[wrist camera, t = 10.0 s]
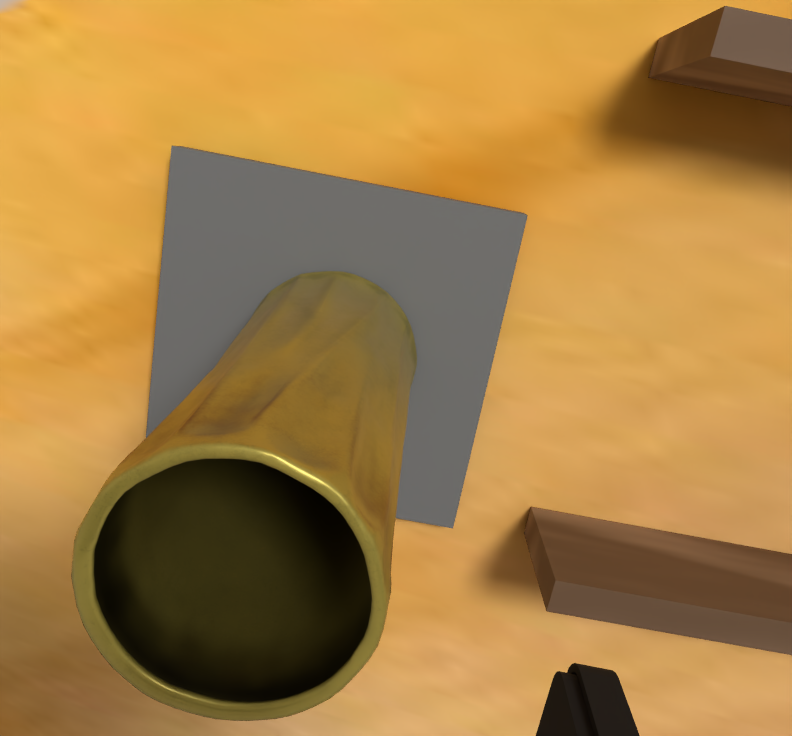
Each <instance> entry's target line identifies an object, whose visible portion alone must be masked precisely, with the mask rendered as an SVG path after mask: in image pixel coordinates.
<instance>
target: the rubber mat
mask: <svg viewBox="0 0 792 736" xmlns="http://www.w3.org/2000/svg"><path fill="white" fill-rule="evenodd" d="M526 220H527V215H526V214H524V213H521V212H516V211H511V210H506V209H500V208H495V207H490V206H485V205H480V204H475V203H470V202H465V201H459V200H454V199H449V198H444V197H439V196H434V195H429V194H423V193H418V192H413V191H408V190H403V189H398V188H393V187H388V186H382V185H377V184H372V183H367V182H362V181H357V180H352V179H347V178H341V177H336V176H331V175H326V174H321V173H316V172H311V171H306V170H300V169H295V168H290V167H285V166H280V165H275V164H270V163H264V162H259V161H254V160H249V159H244V158H239V157H234V156H229V155H223V154H218V153H213V152H208V151H203V150H198V149H193V148H188V147H182V146H172V148H171V159H170V171H169V182H168V193H167V205H166V216H165V227H164V239H163V250H162V261H161V273H160V284H159V295H158V307H157V318H156V329H155V341H154V352H153V363H152V375H151V386H150V397H149V409H148V420H147V431H146V438H147V437H148V436H149V435H150V434H151V433H152V432H153V430H154V429H155V428H156V427H157V426H158V425H159V424H160V423H161V422H162V421H163V420H164V419H165V418H166V417H167V416H168V415H169V414H170V413H171V412H172V411H173V410H174V409H175V408H176V407H177V406H178V405H179V404H180V403H181V402H182V401H183V400H184V399H185V398H186V397H187V396H188V395H189V394H190V393H191V391H192V390H193V389H194V388H195V387H196V386H197V385H198V384H199V383H200V382H201V381H202V380H203V379H204V377H205V376H206V375H207V374H208V373H209V372H210V371H212V370H213V369H214V367H215V366H216V365H217V363H218V362H219V360H220V359H221V357H222V356H223V355H224V353H225V352H226V350H227V349H228V348H229V346H230V345H231V343H232V342H233V341H234V339H235V338H236V337H237V336H238V334H239V333H240V332H241V330H242V329H243V328H244V327H245V325H246V324H247V323H248V322H249V320H250V319H251V317H252V315H253V314H254V312H255V310H256V309H257V307H258V306H259V304H260V303H261V301H262V300H263V299H264V298H265V297H266V295H267V294H268V293H269V292H270V291H271V290H273V289H274V288H276V287H277V286H279V285H280V284H282V283H284V282H286V281H287V280H289V279H291V278H293V277H295V276H298V275H300V274H304V273H311V272H324V271H342V272H347V273H351V274H355V275H357V276H360V277H362V278H365V279H367V280H369V281H371V282H372V283H374V284H376V285H378V286H379V287H381V288H382V289H384V290H385V291H386V292H387V293H388V294H389V295H390V296H391V297H392V298H393V299H394V300H395V301H396V302H397V304H398V305H399V306H400V307H401V309H402V310H403V312H404V313H405V315H406V317H407V318H408V321H409V323H410V325H411V328H412V332H413V335H414V340H415V345H416V353H417V367H416V371H415V375H414V378H413V382H412V385H411V388H410V395H409V404H408V415H407V424H406V432H405V438H404V445H403V456H402V465H401V473H400V481H399V490H398V501H397V511H396V518H399V519H404V520H410V521H415V522H421V523H426V524H432V525H437V526H443V527H448V528H453V526H454V521H455V517H456V513H457V509H458V505H459V500H460V496H461V492H462V488H463V484H464V479H465V475H466V471H467V467H468V463H469V459H470V454H471V450H472V446H473V442H474V438H475V433H476V429H477V425H478V421H479V417H480V412H481V408H482V404H483V400H484V396H485V391H486V387H487V383H488V379H489V375H490V370H491V366H492V362H493V358H494V354H495V350H496V345H497V341H498V337H499V333H500V329H501V324H502V320H503V316H504V312H505V308H506V303H507V299H508V295H509V291H510V287H511V282H512V278H513V274H514V270H515V266H516V261H517V257H518V253H519V249H520V245H521V241H522V236H523V232H524V228H525V224H526Z"/></svg>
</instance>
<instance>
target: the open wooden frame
mask: <svg viewBox="0 0 792 736" xmlns="http://www.w3.org/2000/svg"><path fill="white" fill-rule="evenodd" d="M648 78H653V79H658V80H663V81H668V82H673V83H678V84H683V85H688V86H693V87H698V88H703V89H708V90H713V91H718V92H722V93H727V94H732V95H737V96H742V97H747V98H752V99H757V100H762V101H767V102H772V103H777V104H782V105H787V106H792V20H791V19H787V18H782V17H777V16H772V15H767V14H762V13H757V12H752V11H748V10H743V9H738V8H733V7H728V6H724V7H722V8H720V9H718V10H716V11H714V12H712V13H710V14H708V15H706V16H703V17H701V18H699V19H697V20H695V21H693V22H691V23H689V24H687V25H685V26H683V27H681V28H679V29H677V30H675V31H673V32H671V33H669V34H667V35H665V36H663V37H661V38H659V41H658V44H657V48H656V52H655V55H654V59H653V63H652V66H651V70H650V74H649V77H648ZM524 535H525V538H526V542H527V545H528V549H529V552H530V556H531V559H532V563H533V566H534V570H535V573H536V576H537V580H538V583H539V587H540V590H541V594H542V597H543V601H544V604H545V607H546V611H548V612H554V613H559V614H565V615H570V616H576V617H582V618H587V619H593V620H598V621H604V622H610V623H615V624H621V625H626V626H632V627H638V628H643V629H649V630H654V631H660V632H666V633H671V634H677V635H682V636H688V637H694V638H699V639H705V640H710V641H716V642H722V643H727V644H733V645H738V646H744V647H750V648H755V649H761V650H766V651H772V652H778V653H783V654H789V655H792V554H787V553H781V552H776V551H770V550H765V549H759V548H754V547H748V546H743V545H737V544H732V543H727V542H721V541H716V540H710V539H705V538H699V537H694V536H688V535H683V534H677V533H672V532H666V531H661V530H655V529H650V528H644V527H639V526H633V525H628V524H623V523H617V522H612V521H606V520H601V519H595V518H590V517H584V516H579V515H573V514H568V513H562V512H557V511H551V510H546V509H540V508H535V507H531V509H530V513H529V517H528V520H527V524H526V528H525V531H524Z"/></svg>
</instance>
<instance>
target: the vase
mask: <svg viewBox="0 0 792 736" xmlns="http://www.w3.org/2000/svg"><path fill="white" fill-rule="evenodd" d="M416 367H417V353H416V345H415V340H414V335H413V332H412V328H411V325H410V323H409V321H408V318H407V317H406V315H405V313H404V312H403V310H402V309H401V307H400V306H399V305H398V304H397V302H396V301H395V300H394V299H393V298H392V297H391V296H390V295H389V294H388V293H387V292H386V291H385V290H384V289H382V288H381V287H379V286H378V285H376V284H374V283H372V282H371V281H369V280H367V279H365V278H362V277H360V276H357V275H355V274H351V273H347V272H342V271H324V272H311V273H304V274H300V275H298V276H295V277H293V278H291V279H289V280H287V281H286V282H284V283H282V284H280V285H279V286H277V287H276V288H274V289H273V290H271V291H270V292H269V293H268V294H267V295H266V297H265V298H264V299H263V300H262V301H261V303H260V304H259V306H258V307H257V309H256V310H255V312H254V314H253V315H252V317H251V319H250V320H249V322H248V323H247V324H246V325H245V327H244V328H243V329H242V330H241V332H240V333H239V334H238V336H237V337H236V338H235V339H234V341H233V342H232V343H231V345H230V346H229V348H228V349H227V350H226V352H225V353H224V355H223V356H222V357H221V359H220V360H219V362H218V363H217V365H216V366H215V367H214V369H213V370H212V371H210V372H209V373H208V374H207V375H206V376H205V377H204V379H203V380H202V381H201V382H200V383H199V384H198V385H197V386H196V387H195V388H194V389H193V390H192V391H191V393H190V394H189V395H188V396H187V397H186V398H185V399H184V400H183V401H182V402H181V403H180V404H179V405H178V406H177V407H176V408H175V409H174V410H173V411H172V412H171V413H170V414H169V415H168V416H167V417H166V418H165V419H164V420H163V421H162V422H161V423H160V424H159V425H158V426H157V427H156V428H155V429H154V430H153V432H152V433H151V434H150V435H149V436H148V437H147V438H146V439H145V440H144V441H143V442H142V443H141V444H140V445H139V446H138V447H137V448H136V449H135V450H134V451H132V452H131V453H130V454H129V455H128V456H127V457H126V458H125V459H124V460H123V461H122V462H121V463H120V464H119V466H118V467H117V468H116V469H115V470H114V471H113V473H112V474H111V475H110V476H109V478H108V479H107V480H106V482H105V483H104V485H103V487H102V488H101V490H100V492H99V494H98V495H97V497H96V499H95V501H94V502H93V504H92V506H91V507H90V509H89V511H88V512H87V514H86V516H85V518H84V519H83V521H82V523H81V525H80V526H79V528H78V531H77V533H76V536H75V540H74V549H73V561H72V573H71V578H72V583H73V589H74V594H75V599H76V605H77V608H78V611H79V614H80V617H81V619H82V622H83V625H84V627H85V629H86V630H87V632H88V634H89V636H90V638H91V640H92V641H93V643H94V644H95V646H96V647H97V648H98V650H99V651H100V653H101V654H102V655H103V657H104V658H105V659H106V660H107V662H108V663H109V664H110V665H111V666H112V668H114V669H115V670H116V671H117V672H118V673H119V674H120V675H121V676H122V677H124V678H125V679H126V680H127V681H128V682H129V683H131V684H132V685H133V686H134V687H135V688H137V689H138V690H140V691H141V692H142V693H144V694H145V695H147V696H149V697H151V698H153V699H155V700H157V701H159V702H161V703H163V704H166V705H168V706H171V707H174V708H176V709H180V710H183V711H186V712H189V713H192V714H196V715H200V716H204V717H209V718H214V719H222V720H233V721H253V720H268V719H277V718H282V717H287V716H291V715H294V714H297V713H300V712H303V711H305V710H308V709H310V708H312V707H314V706H317V705H319V704H320V703H322V702H324V701H326V700H328V699H330V698H331V697H332V696H334V695H335V694H336V693H338V692H339V691H340V690H342V689H343V688H344V687H345V686H346V685H347V684H348V683H349V682H350V681H351V680H352V679H353V677H354V676H355V675H356V674H357V673H358V672H359V671H360V670H361V669H362V668H363V666H364V665H365V664H366V663H367V661H368V660H369V659H370V657H371V656H372V654H373V653H374V651H375V649H376V648H377V646H378V644H379V641H380V638H381V635H382V632H383V629H384V625H385V620H386V615H387V609H388V604H389V599H390V594H391V561H392V548H393V536H394V525H395V518H396V511H397V501H398V490H399V481H400V473H401V465H402V456H403V445H404V438H405V432H406V424H407V415H408V404H409V395H410V388H411V385H412V382H413V378H414V375H415V371H416Z"/></svg>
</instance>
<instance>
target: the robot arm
mask: <svg viewBox="0 0 792 736" xmlns="http://www.w3.org/2000/svg"><path fill="white" fill-rule="evenodd" d="M536 736H639V733H638V730H637V727H636V725H635V722H634V719H633V716H632V714H631V711H630V708H629V706H628V703H627V700H626V697H625V695H624V692H623V689H622V686H621V684H620V681H619V678H618V676H617V674H616V673H615V672H614V671H612V670H607V669H602V668H597V667H592V666H587V665H582V664H576V663H574V664H572V665H571V666H570V667H569V669H568V672H567V673H565V672H560V671H558V672H556V674H555V675H554V678H553V681H552V684H551V687H550V691H549V694H548V697H547V700H546V704H545V707H544V710H543V714H542V717H541V720H540V724H539V727H538V730H537V733H536Z"/></svg>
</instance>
